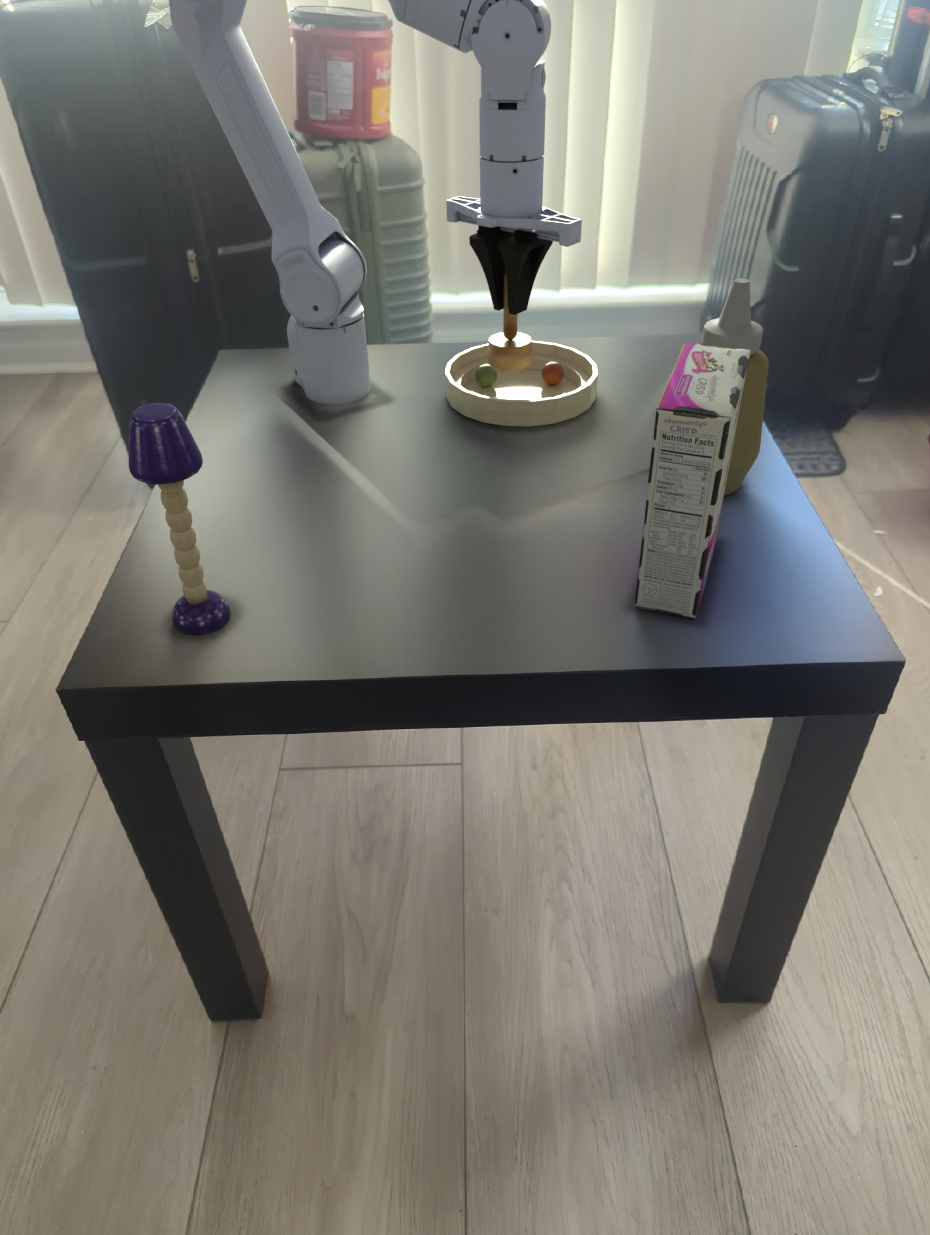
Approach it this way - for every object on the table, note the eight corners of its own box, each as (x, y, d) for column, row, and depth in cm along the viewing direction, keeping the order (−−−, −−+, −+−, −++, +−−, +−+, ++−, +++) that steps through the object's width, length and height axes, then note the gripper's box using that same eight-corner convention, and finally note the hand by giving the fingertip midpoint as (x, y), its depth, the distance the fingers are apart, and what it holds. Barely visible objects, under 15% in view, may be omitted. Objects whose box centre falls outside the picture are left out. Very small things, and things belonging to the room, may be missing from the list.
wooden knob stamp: (479, 363, 88) (478, 271, 82) (506, 350, 90) (507, 260, 84) (513, 374, 85) (514, 280, 80) (539, 360, 88) (543, 268, 82)
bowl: (420, 391, 95) (418, 361, 92) (537, 359, 101) (538, 330, 99) (499, 448, 84) (499, 415, 82) (625, 408, 90) (629, 376, 88)
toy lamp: (229, 591, 67) (180, 389, 56) (246, 625, 63) (197, 417, 53) (167, 610, 65) (105, 405, 54) (181, 645, 62) (117, 434, 51)
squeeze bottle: (707, 453, 82) (741, 258, 71) (771, 489, 77) (819, 284, 65) (642, 476, 79) (667, 276, 68) (704, 515, 74) (742, 305, 62)
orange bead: (536, 382, 94) (537, 361, 92) (554, 377, 95) (555, 356, 93) (549, 390, 92) (550, 368, 91) (567, 384, 93) (568, 363, 92)
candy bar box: (656, 531, 72) (683, 339, 62) (716, 541, 70) (754, 347, 60) (628, 609, 64) (654, 404, 53) (696, 622, 62) (736, 414, 52)
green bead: (471, 384, 94) (470, 363, 92) (489, 379, 95) (489, 358, 93) (482, 392, 92) (482, 371, 91) (501, 387, 93) (501, 366, 92)
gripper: (421, 154, 77) (429, 305, 86) (550, 174, 70) (544, 338, 78) (472, 141, 81) (474, 286, 90) (599, 159, 74) (588, 316, 82)
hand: (510, 309), depth 84 cm, fingers closed on wooden knob stamp
